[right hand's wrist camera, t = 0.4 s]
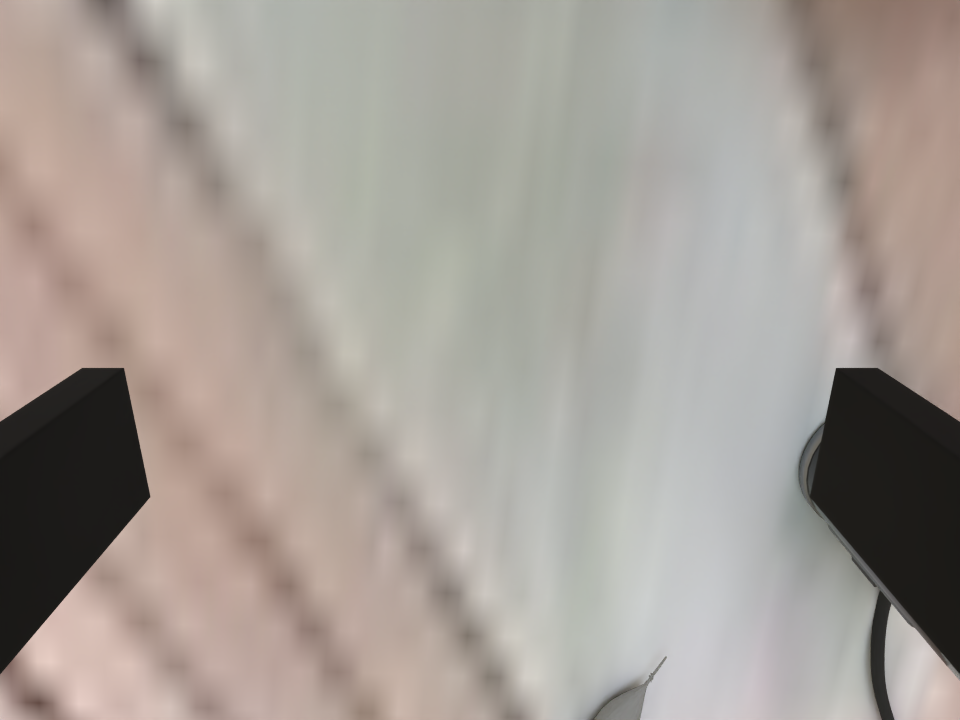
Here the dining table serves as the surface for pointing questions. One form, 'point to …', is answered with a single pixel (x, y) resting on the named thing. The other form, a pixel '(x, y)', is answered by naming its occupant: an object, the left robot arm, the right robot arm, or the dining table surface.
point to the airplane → (627, 703)
